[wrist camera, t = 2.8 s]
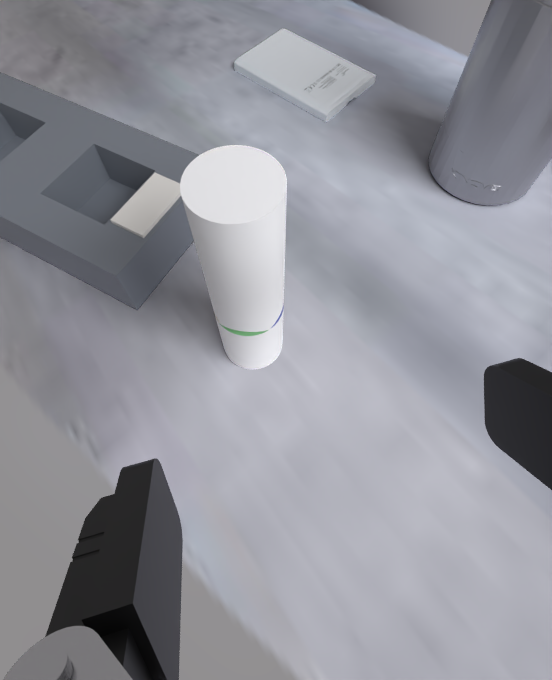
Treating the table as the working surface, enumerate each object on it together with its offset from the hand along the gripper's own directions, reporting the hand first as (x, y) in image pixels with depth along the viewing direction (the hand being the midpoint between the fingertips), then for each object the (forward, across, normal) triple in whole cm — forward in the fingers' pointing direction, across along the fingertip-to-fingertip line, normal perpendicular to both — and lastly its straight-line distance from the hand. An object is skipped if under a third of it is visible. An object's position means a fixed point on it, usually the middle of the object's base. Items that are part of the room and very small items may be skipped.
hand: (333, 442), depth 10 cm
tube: (+20, 0, +4) cm, 21 cm away
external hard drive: (+41, -13, -15) cm, 45 cm away
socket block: (+33, +12, -8) cm, 36 cm away
